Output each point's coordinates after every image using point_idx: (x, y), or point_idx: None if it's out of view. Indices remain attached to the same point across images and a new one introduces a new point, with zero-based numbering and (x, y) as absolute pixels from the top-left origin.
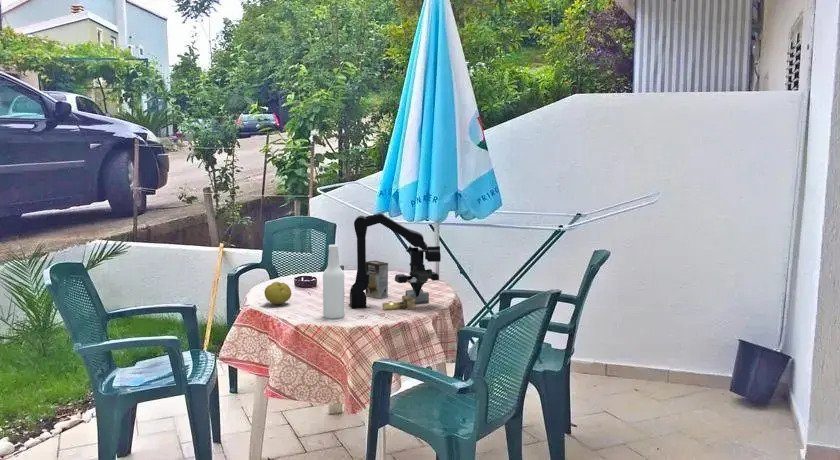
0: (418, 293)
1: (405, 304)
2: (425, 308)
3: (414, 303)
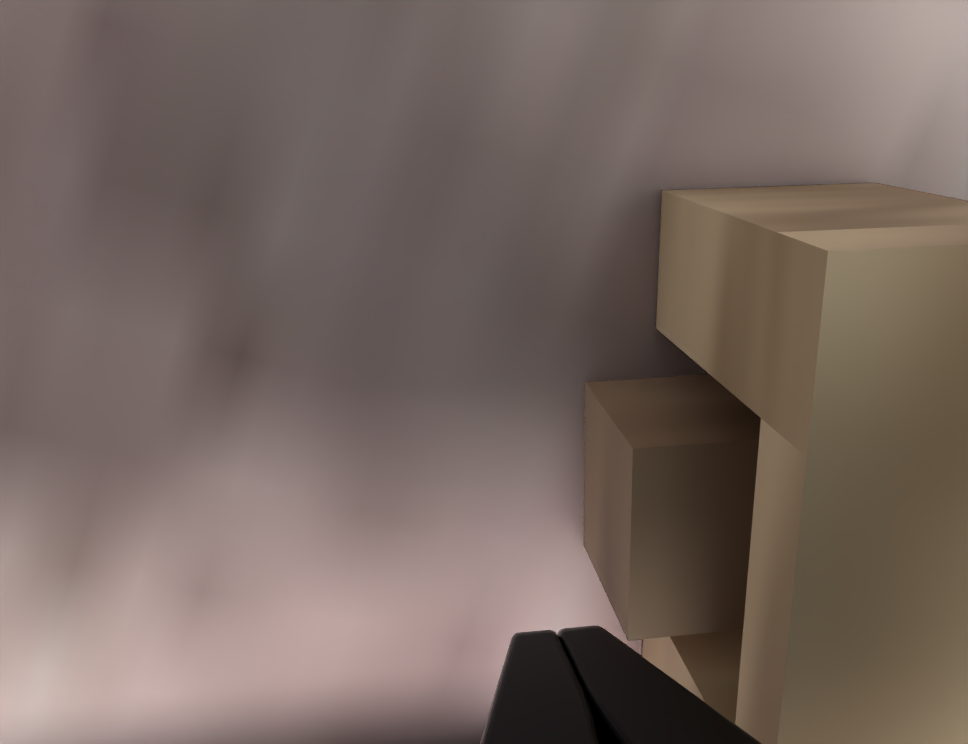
0: (537, 719)
1: None
2: (286, 207)
3: (762, 217)
